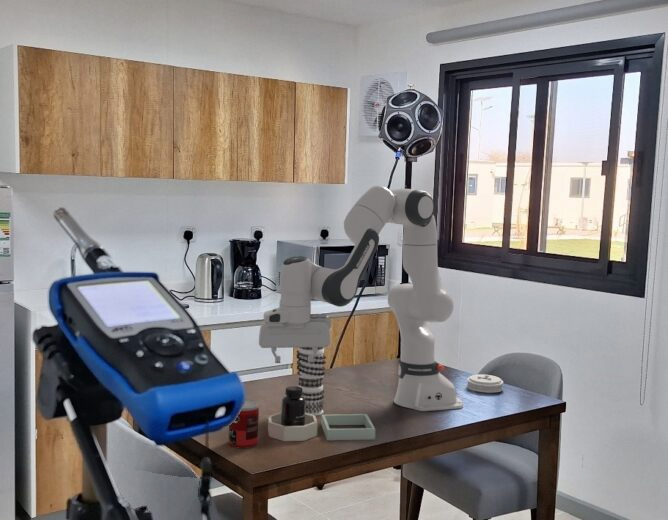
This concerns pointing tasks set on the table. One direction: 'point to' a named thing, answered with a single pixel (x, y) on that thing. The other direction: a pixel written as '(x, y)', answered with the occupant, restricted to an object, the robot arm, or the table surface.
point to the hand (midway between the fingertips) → (294, 362)
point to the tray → (348, 433)
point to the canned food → (245, 426)
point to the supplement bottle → (293, 407)
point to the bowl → (292, 429)
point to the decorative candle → (311, 379)
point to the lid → (485, 383)
